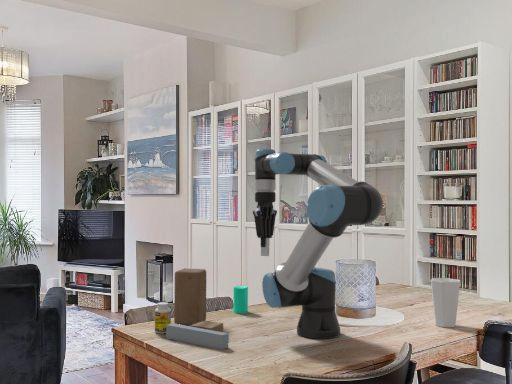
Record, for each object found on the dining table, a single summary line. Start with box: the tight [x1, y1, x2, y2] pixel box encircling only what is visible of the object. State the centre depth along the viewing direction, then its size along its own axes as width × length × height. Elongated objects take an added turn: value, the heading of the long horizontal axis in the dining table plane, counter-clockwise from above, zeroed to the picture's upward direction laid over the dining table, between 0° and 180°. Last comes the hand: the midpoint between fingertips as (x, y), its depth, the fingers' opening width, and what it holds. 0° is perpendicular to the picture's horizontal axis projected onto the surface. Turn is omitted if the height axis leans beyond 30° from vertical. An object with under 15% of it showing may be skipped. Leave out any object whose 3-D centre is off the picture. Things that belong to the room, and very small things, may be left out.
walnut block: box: [189, 320, 224, 332], centre depth 184 cm, size 8×8×5 cm
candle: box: [232, 285, 249, 314], centre depth 228 cm, size 6×6×12 cm
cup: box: [429, 277, 461, 328], centre depth 205 cm, size 11×10×17 cm
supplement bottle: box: [154, 301, 172, 335], centre depth 192 cm, size 6×6×10 cm
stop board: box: [165, 322, 229, 350], centre depth 178 cm, size 24×3×4 cm, turn 56°
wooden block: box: [173, 268, 207, 326], centre depth 208 cm, size 10×10×20 cm
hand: (265, 255), depth 199 cm, fingers closed
